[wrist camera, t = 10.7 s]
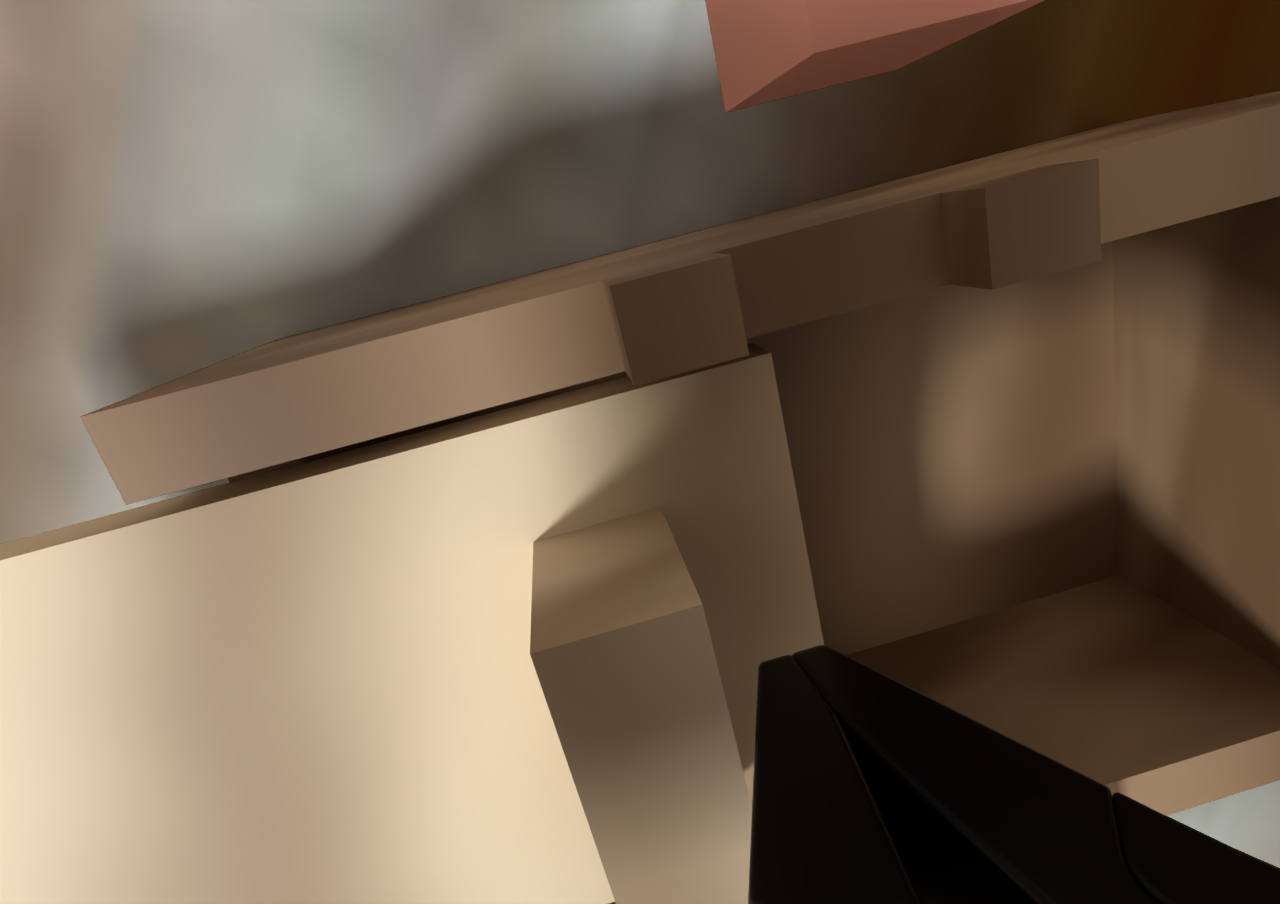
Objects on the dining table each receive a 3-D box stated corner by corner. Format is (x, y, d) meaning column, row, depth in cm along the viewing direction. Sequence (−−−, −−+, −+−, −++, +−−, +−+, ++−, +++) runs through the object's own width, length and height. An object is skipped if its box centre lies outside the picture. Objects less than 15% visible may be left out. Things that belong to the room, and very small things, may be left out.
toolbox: (1119, 122, 13) (1595, 29, 7) (1126, 580, 16) (1462, 778, 10) (275, 340, 12) (24, 437, 6) (456, 778, 15) (402, 1118, 10)
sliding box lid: (751, 342, 9) (857, 397, 6) (835, 787, 11) (944, 989, 8) (-404, 653, 8) (-962, 898, 5) (-58, 1059, 11) (-298, 1389, 8)
